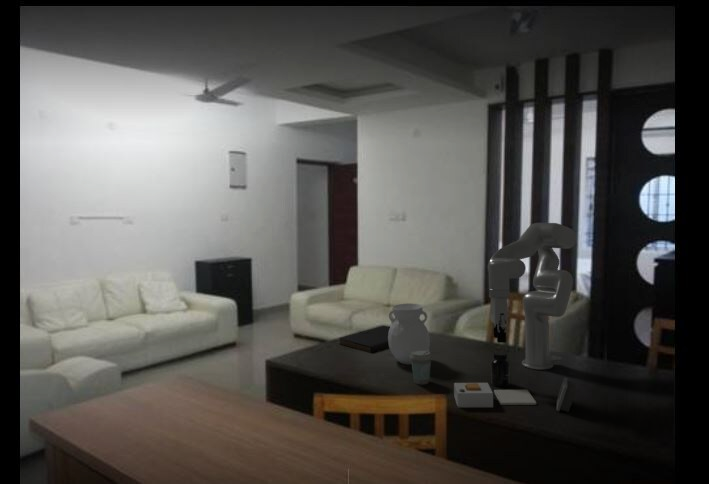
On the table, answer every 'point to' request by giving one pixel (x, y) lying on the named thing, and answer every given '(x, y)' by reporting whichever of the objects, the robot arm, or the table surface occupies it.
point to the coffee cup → (421, 366)
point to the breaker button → (472, 386)
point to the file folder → (368, 339)
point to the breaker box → (473, 396)
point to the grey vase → (407, 331)
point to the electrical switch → (565, 395)
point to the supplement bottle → (500, 370)
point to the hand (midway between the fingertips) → (499, 339)
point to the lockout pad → (514, 397)
